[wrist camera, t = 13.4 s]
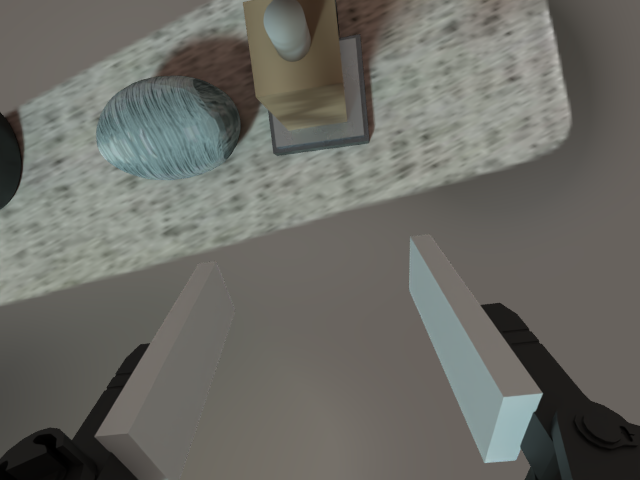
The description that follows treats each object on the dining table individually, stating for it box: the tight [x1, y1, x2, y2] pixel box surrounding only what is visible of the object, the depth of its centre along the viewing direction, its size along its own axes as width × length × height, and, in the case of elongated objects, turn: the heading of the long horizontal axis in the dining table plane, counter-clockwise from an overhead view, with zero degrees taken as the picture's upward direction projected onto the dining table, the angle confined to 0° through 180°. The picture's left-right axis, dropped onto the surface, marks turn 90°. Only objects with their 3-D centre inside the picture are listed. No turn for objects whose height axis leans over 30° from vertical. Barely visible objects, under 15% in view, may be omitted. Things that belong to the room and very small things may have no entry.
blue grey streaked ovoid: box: [96, 76, 241, 180], centre depth 30 cm, size 14×10×10 cm
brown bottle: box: [243, 0, 347, 131], centre depth 23 cm, size 6×6×12 cm
